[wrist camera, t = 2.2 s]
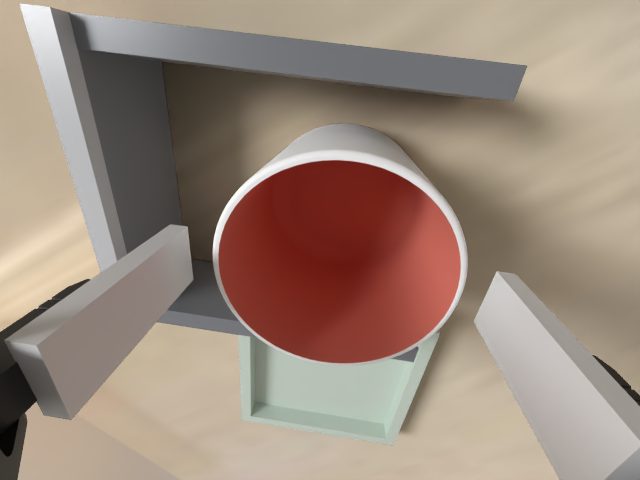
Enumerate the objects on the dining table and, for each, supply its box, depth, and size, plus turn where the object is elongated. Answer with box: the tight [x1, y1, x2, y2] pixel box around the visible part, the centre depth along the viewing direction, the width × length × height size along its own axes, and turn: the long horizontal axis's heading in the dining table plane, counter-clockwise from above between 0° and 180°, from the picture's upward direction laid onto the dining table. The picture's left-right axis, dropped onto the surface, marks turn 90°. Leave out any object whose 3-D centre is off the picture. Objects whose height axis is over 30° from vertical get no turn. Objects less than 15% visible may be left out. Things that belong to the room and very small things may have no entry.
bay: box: [20, 4, 527, 362], centre depth 17 cm, size 16×19×7 cm
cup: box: [213, 124, 468, 366], centre depth 16 cm, size 10×10×10 cm
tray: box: [239, 330, 440, 446], centre depth 27 cm, size 16×16×2 cm
